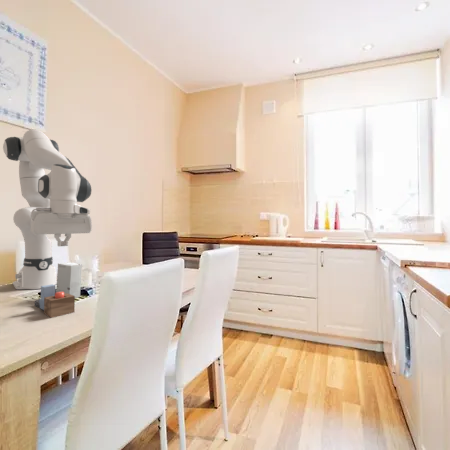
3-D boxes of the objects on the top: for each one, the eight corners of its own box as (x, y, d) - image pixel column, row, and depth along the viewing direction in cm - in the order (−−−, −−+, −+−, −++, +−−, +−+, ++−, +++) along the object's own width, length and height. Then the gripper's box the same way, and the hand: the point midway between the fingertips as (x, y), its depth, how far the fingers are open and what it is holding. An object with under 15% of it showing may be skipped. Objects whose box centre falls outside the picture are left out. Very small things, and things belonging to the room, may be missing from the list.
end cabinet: (44, 313, 107) (44, 297, 106) (67, 308, 113) (67, 293, 113) (51, 317, 103) (51, 300, 103) (74, 312, 109) (74, 296, 109)
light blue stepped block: (39, 308, 110) (39, 285, 110) (50, 305, 114) (51, 283, 113) (45, 311, 107) (45, 287, 107) (56, 308, 110) (56, 286, 110)
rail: (34, 305, 116) (34, 300, 116) (40, 304, 117) (40, 299, 117) (48, 312, 108) (48, 307, 108) (54, 311, 109) (54, 306, 109)
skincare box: (55, 297, 127) (55, 263, 126) (67, 294, 132) (68, 261, 132) (70, 300, 124) (70, 265, 123) (81, 296, 129) (82, 263, 129)
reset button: (53, 300, 108) (53, 292, 107) (62, 299, 110) (62, 291, 110) (57, 302, 106) (57, 294, 106) (65, 300, 108) (65, 292, 108)
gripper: (34, 207, 98) (34, 248, 99) (94, 209, 114) (93, 245, 115) (27, 207, 102) (27, 246, 102) (86, 209, 118) (85, 243, 119)
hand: (62, 246), depth 109 cm, fingers closed
